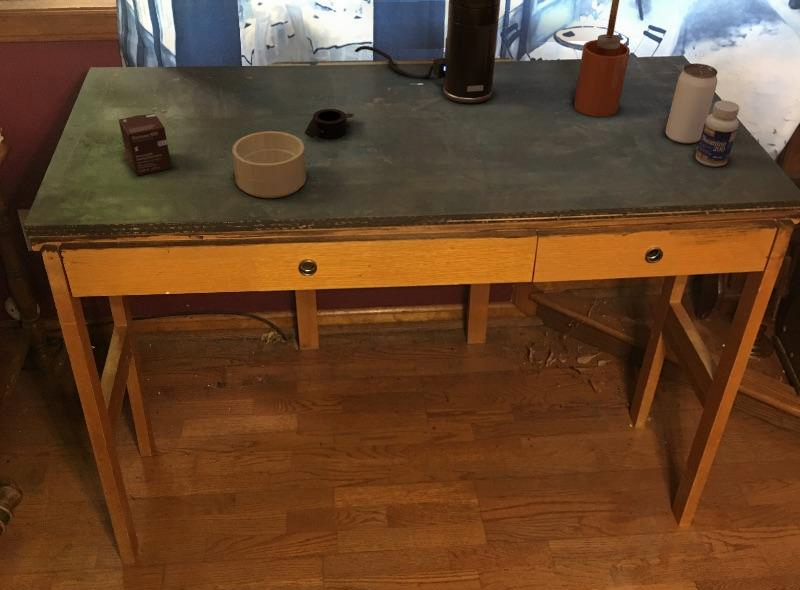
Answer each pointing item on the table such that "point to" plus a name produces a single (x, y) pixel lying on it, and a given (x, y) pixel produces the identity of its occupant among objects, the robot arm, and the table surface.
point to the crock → (600, 79)
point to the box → (145, 143)
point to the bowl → (269, 164)
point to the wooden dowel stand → (610, 30)
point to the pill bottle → (718, 134)
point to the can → (691, 103)
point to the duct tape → (328, 124)
